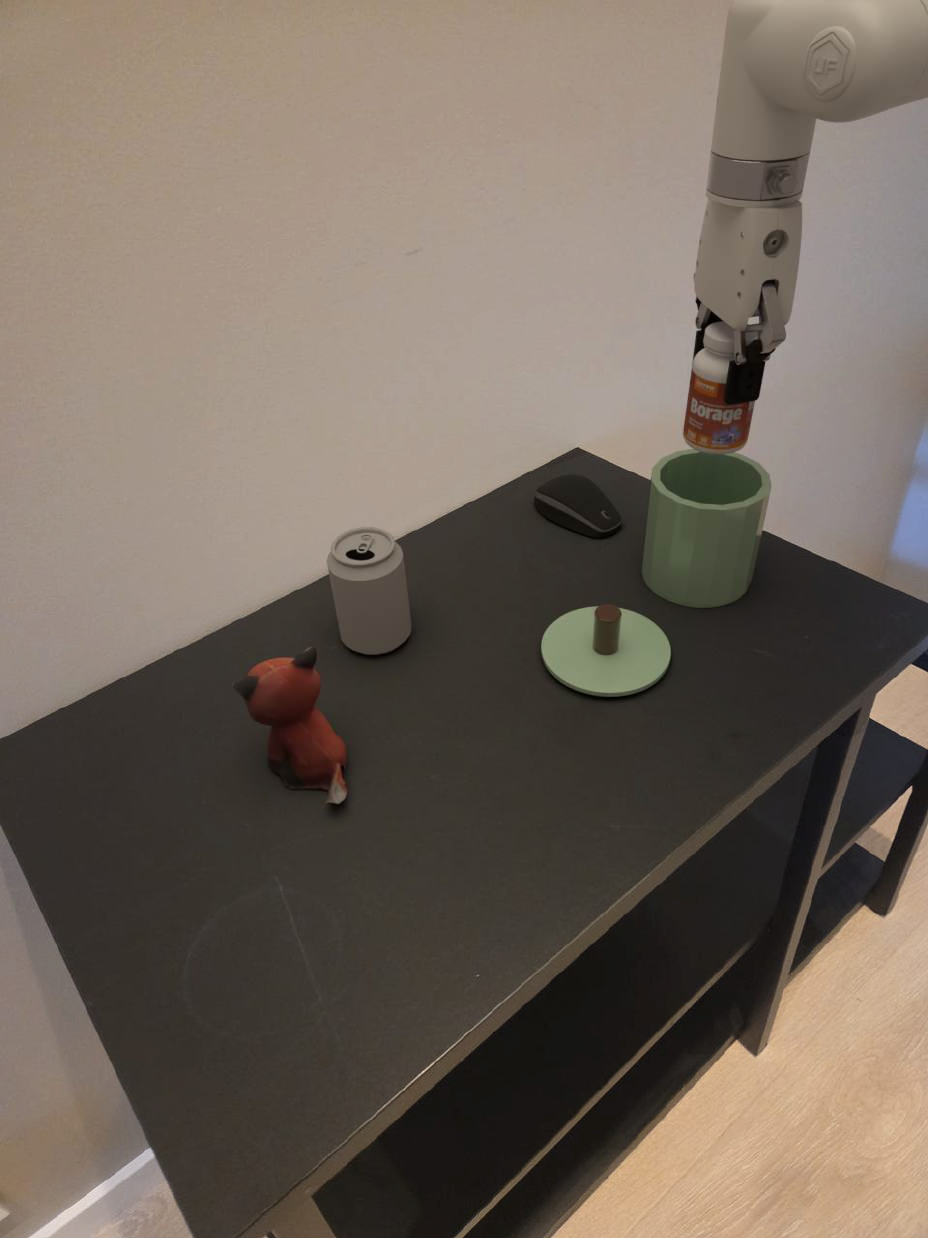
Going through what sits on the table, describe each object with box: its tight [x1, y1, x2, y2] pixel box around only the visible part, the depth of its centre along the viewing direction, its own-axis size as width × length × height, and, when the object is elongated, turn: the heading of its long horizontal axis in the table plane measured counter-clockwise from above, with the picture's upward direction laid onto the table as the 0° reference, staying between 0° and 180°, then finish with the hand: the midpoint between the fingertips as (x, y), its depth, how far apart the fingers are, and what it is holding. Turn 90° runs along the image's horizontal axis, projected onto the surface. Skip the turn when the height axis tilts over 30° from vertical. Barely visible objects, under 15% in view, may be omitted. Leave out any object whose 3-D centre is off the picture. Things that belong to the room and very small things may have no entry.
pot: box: [641, 448, 773, 609], centre depth 93 cm, size 12×12×12 cm
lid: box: [540, 603, 672, 698], centre depth 86 cm, size 13×13×6 cm
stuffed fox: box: [231, 645, 349, 805], centre depth 74 cm, size 8×11×12 cm
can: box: [326, 526, 412, 656], centre depth 87 cm, size 8×8×12 cm
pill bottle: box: [682, 321, 758, 454], centre depth 81 cm, size 6×6×11 cm
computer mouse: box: [533, 473, 623, 539], centre depth 105 cm, size 7×12×4 cm, turn 41°
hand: (724, 383), depth 81 cm, fingers closed on pill bottle, 6 cm apart
